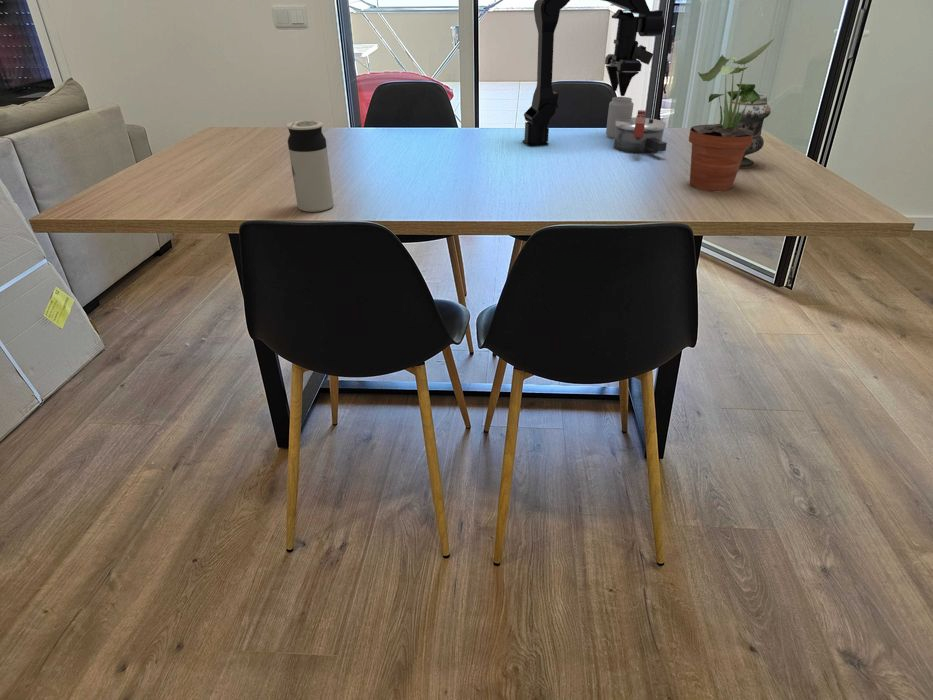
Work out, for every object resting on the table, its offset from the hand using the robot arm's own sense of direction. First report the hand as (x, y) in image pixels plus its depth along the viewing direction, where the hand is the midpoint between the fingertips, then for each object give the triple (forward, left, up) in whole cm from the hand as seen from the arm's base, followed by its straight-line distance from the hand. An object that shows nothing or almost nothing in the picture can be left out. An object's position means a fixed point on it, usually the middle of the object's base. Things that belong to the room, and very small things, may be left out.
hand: (618, 93), depth 185 cm
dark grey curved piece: (+2, -14, -14) cm, 20 cm away
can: (+3, +3, -14) cm, 15 cm away
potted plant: (+1, -51, -14) cm, 53 cm away
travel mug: (-95, -44, -14) cm, 105 cm away
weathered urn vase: (+20, -35, -14) cm, 43 cm away
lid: (+1, -14, -8) cm, 16 cm away
